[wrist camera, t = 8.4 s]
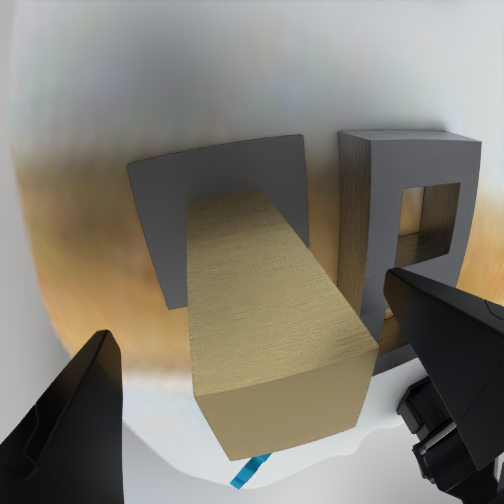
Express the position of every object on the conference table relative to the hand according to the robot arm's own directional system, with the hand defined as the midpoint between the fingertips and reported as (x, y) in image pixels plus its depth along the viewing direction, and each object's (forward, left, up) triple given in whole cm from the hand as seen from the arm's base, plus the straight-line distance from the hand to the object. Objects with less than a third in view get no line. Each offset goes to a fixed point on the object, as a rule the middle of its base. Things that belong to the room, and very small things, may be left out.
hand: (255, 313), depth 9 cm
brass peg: (0, 0, -6) cm, 6 cm away
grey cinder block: (-10, +4, -7) cm, 13 cm away
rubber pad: (0, 0, -7) cm, 7 cm away
